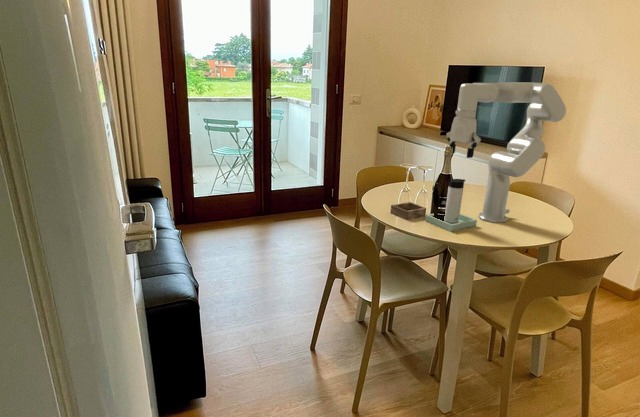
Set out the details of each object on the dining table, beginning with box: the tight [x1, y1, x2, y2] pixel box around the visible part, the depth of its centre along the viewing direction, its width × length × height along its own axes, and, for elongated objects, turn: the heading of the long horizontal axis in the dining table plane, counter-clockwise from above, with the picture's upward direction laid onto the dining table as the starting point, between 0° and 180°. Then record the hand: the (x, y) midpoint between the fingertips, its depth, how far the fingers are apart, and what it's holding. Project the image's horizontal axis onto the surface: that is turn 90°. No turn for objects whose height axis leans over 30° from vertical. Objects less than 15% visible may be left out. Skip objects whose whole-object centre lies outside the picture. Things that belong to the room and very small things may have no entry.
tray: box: [425, 213, 478, 233], centre depth 189 cm, size 16×15×3 cm
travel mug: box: [444, 178, 466, 224], centre depth 186 cm, size 6×7×20 cm
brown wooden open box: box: [390, 201, 427, 221], centre depth 198 cm, size 12×11×4 cm
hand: (460, 155), depth 180 cm, fingers open, 9 cm apart
